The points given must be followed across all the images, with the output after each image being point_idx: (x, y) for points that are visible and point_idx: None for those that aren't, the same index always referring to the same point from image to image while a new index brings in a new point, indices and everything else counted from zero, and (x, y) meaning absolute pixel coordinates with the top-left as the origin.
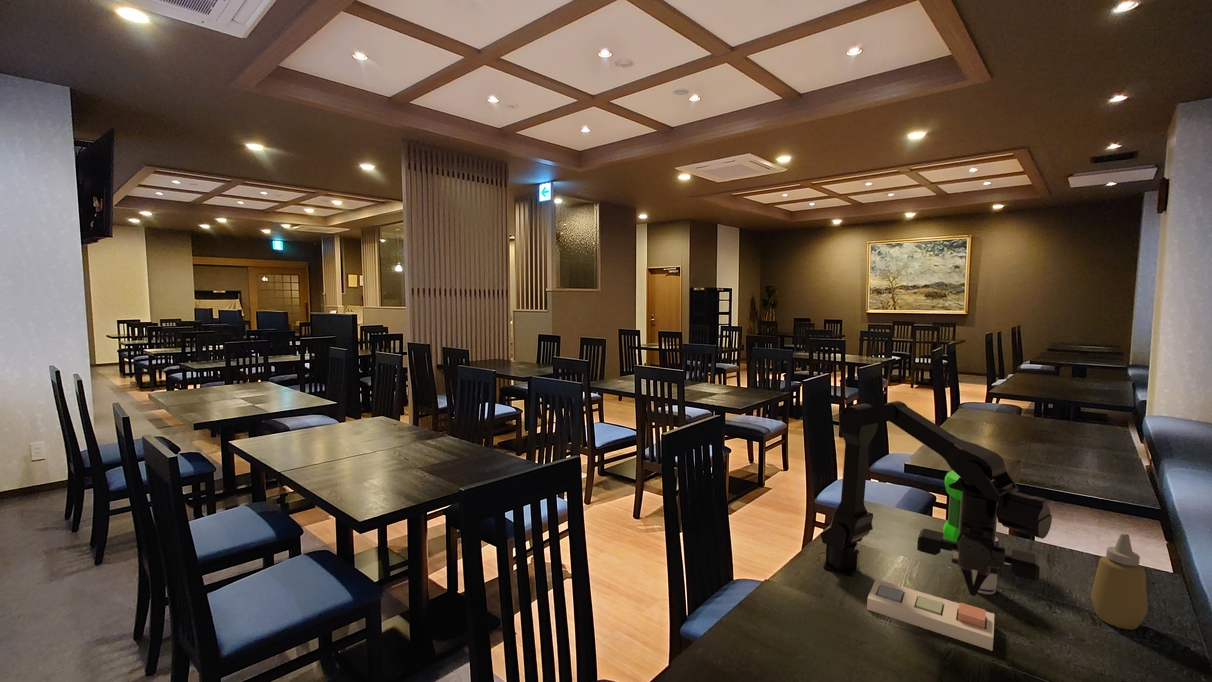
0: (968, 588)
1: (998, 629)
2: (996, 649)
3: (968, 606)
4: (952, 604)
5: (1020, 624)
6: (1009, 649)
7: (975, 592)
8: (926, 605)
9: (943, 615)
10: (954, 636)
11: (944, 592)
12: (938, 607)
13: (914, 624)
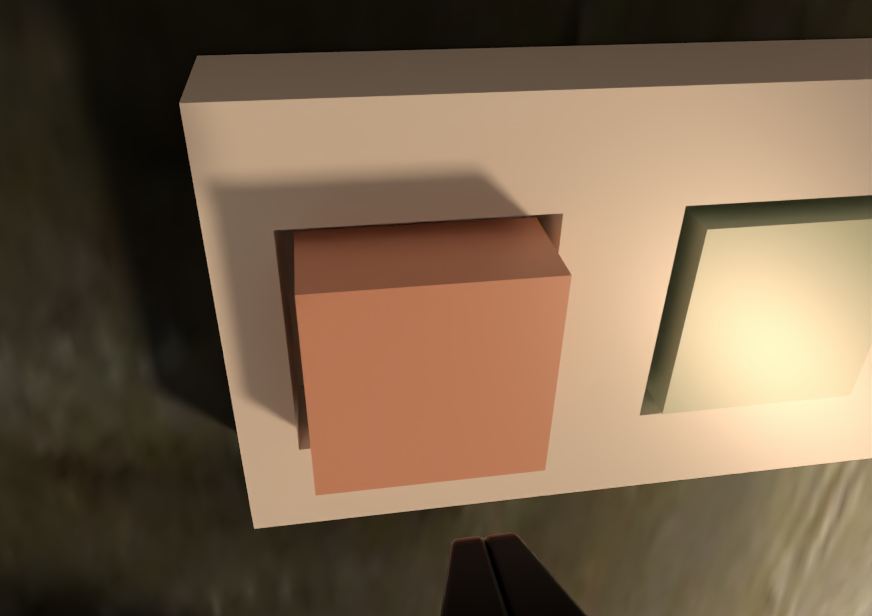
0: (575, 610)
1: (219, 424)
2: (173, 113)
3: (469, 452)
4: (575, 451)
5: (107, 568)
6: (79, 193)
7: (466, 593)
8: (818, 280)
9: (671, 225)
10: (537, 51)
11: (575, 600)
12: (711, 316)
13: (866, 40)
